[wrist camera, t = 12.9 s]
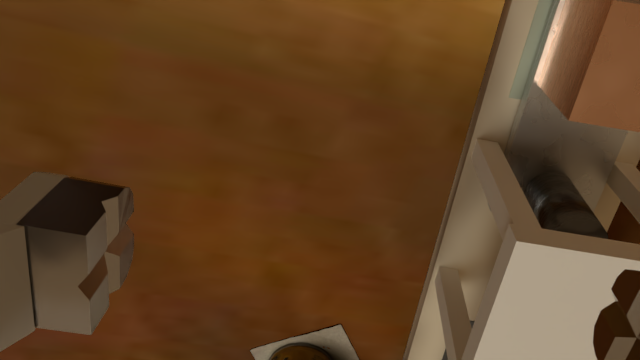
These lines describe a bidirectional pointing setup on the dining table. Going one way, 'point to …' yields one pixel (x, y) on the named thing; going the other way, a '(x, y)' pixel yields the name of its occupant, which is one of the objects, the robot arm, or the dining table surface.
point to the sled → (577, 111)
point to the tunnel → (536, 276)
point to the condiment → (310, 347)
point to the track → (467, 193)
